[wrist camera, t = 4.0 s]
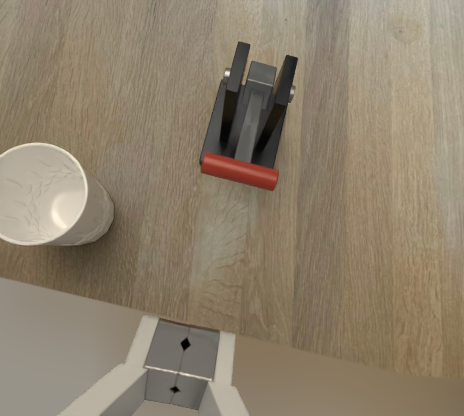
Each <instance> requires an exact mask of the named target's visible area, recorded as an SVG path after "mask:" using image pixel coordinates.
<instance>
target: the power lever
mask: <svg viewBox="0 0 464 416" xmlns="http://www.w3.org/2000/svg"><path fill="white" fill-rule="evenodd" d="M276 69H277V67H274V66H270V65H266V64H263V63H259V62H255V61H251V65H250V69H249V73H248V76H247V80H246V84H245V89H244V93H243V97H242V101H241V103H242V104H245V105H247V108H246V112H245V116H244V121H243V125H242V129H241V133H240V137H239V141H238V145H237V149H236V153H235V158H234V159H233V158H229V157H225V156H221V155H217V154H213V153H210V152H206V153H205V155H204V158H203V162H202V166H201V173H204V174H207V175H211V176H215V177H219V178H223V179H227V180H231V181H235V182H239V183H242V184H246V185H250V186H254V187H258V188H262V189H266V190H270V191H273V190H274V189H275V186H276V184H277V180H278V175H279V171H278V170H275V169H271V168H267V167H263V166H259V165H256V164H252V163H250V162H251V157H252V152H253V147H254V142H255V137H256V132H257V127H258V122H259V117H260V112H261V109H264V110H266V108H267V105H268V102H269V99H270V96H271V93H272V90H273V86H274V81H275V75H276Z"/></svg>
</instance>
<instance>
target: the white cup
mask: <svg viewBox="0 0 464 416" xmlns="http://www.w3.org/2000/svg"><path fill="white" fill-rule="evenodd" d="M113 219H114V204H113V202H112V200H111V198H110V196H109V194H108V192H107V191H106V190H105V189H104V188H103V187H102V185H101V184H100V183H99V182H98V181H97V180H96V179H95V178H94V176H93V175H92V174H91V173H90V172H89V171H88V170H87V169H86V168H85V167H83V166H82V165H81V164H80V163H79V162H78V161H77V160H76V159H75V158H74V157H73V156H72V155H71V154H70V153H68V152H67V151H65V150H64V149H62V148H60V147H57V146H54V145H51V144H46V143H29V144H23V145H20V146H16V147H14V148H12V149H9V150H8V151H6V152H4V153H3V154H1V155H0V238H2V239H3V240H5V241H8V242H11V243H14V244H18V245H33V246H71V245H83V244H87V243H91V242H95V241H96V240H97V239H99V238H100V237H101V236H103V235H104V234H105V233H106V232H107V231H108V229H109V227H110V225H111V223H112V221H113Z"/></svg>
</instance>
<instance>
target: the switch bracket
mask: <svg viewBox="0 0 464 416" xmlns="http://www.w3.org/2000/svg"><path fill="white" fill-rule="evenodd" d="M249 49H250V44H247V43H243V42H238V45H237V48H236V52H235V56H234V60H233V63H232V67H231V68H226V70H225V73H224V78H223V80H221V83H220V87H219V90H218V94H217V98H216V101H215V105H214V109H213V112H212V116H211V120H210V123H209V127H208V131H207V134H206V138H205V142H204V145H203V149H202V153H201V156H200V160H199V162H200V164H202V162H203V158H204V155H205V153H206V152H210V153H213V154H217V155H221V156H225V157H229V158H233V159H234V158H235V153H236V149H237V145H238V141H239V137H240V133H241V129H242V125H243V121H244V116H245V112H246V108H247V105H245V104H242V103H241V101H242V97H243V93H244V89H245V86H244V85H242V82H243V77H244V72H245V68H246V63H247V58H248V54H249ZM297 61H298V58H297V57H293V56H289V55H286V57H285V60H284V62H283V65H282V67H281V70H280V72H279V75H278V77H277V80H276V82H275V85H274V87H273V90H272V93H271V96H270V99H269V102H268V105H267V108H266V110H264V109H261V112H260V117H259V122H258V127H257V132H256V137H255V142H254V147H253V152H252V157H251V162H250V163H252V164H256V165H259V166H263V167H267V168H271V169H273V167H274V162H275V158H276V153H277V149H278V144H279V140H280V136H281V131H282V127H283V122H284V118H285V114H286V109H287V105H288V103H291V101H292V99H293V96H294V93H295V88H296V87H295V86H293V85H292V83H293V78H294V74H295V70H296V65H297Z"/></svg>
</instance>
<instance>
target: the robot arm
mask: <svg viewBox="0 0 464 416" xmlns="http://www.w3.org/2000/svg"><path fill="white" fill-rule="evenodd" d="M235 341H236V336H235V333H230V332H225V331H220V330H217V329H212V328H207V327H201V326H196V325H191V324H190V325H189V324H185V323H180V322H175V321H171V320H166V319H162V318H158V317H154V316H149V315H144V316H143V317H142V319H141V321H140V324H139V326H138V329H137V332H136V335H135V337H134V340H133V342H132V346H131V348H130V350H129V353H128V356H127V358H126V361H125V363H124V364H122V363H119V364H118V365H117V366H115V367H114V368H113V369H112V370H111V371H109V373H107V374H106V375H105V376H104V377H102V378H101V379H100V380H99V381H98V382H96V383H95V384H94V385H93V386H92V387H90V388H89V389H88V390H87V391H86V392H85V393H83V394H82V395H81V396H80V397H78V398H77V399H76V400H75V401H74V402H73V403H71V404H70V405H69V406H68V407H67V408H65V409H64V410H63V411H62V412H61V413H59V414H58V415H57V416H131V415H132V414H133V413H134V412H135V411H136V410H137V409H138V408H139V407H140V406H141V404H142V403H143V402H144V400H149V401H155V402H161V403H167V404H172V405H177V406H182V407H186V408H190V409H195V410H198V414H199V416H250V415H249V414H248V411H247V409H246V407H245V404H244V402H243V400H242V398H241V396H240V394H239V392H238V389H237V387H235V386H232V377H233V365H234V353H235Z"/></svg>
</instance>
